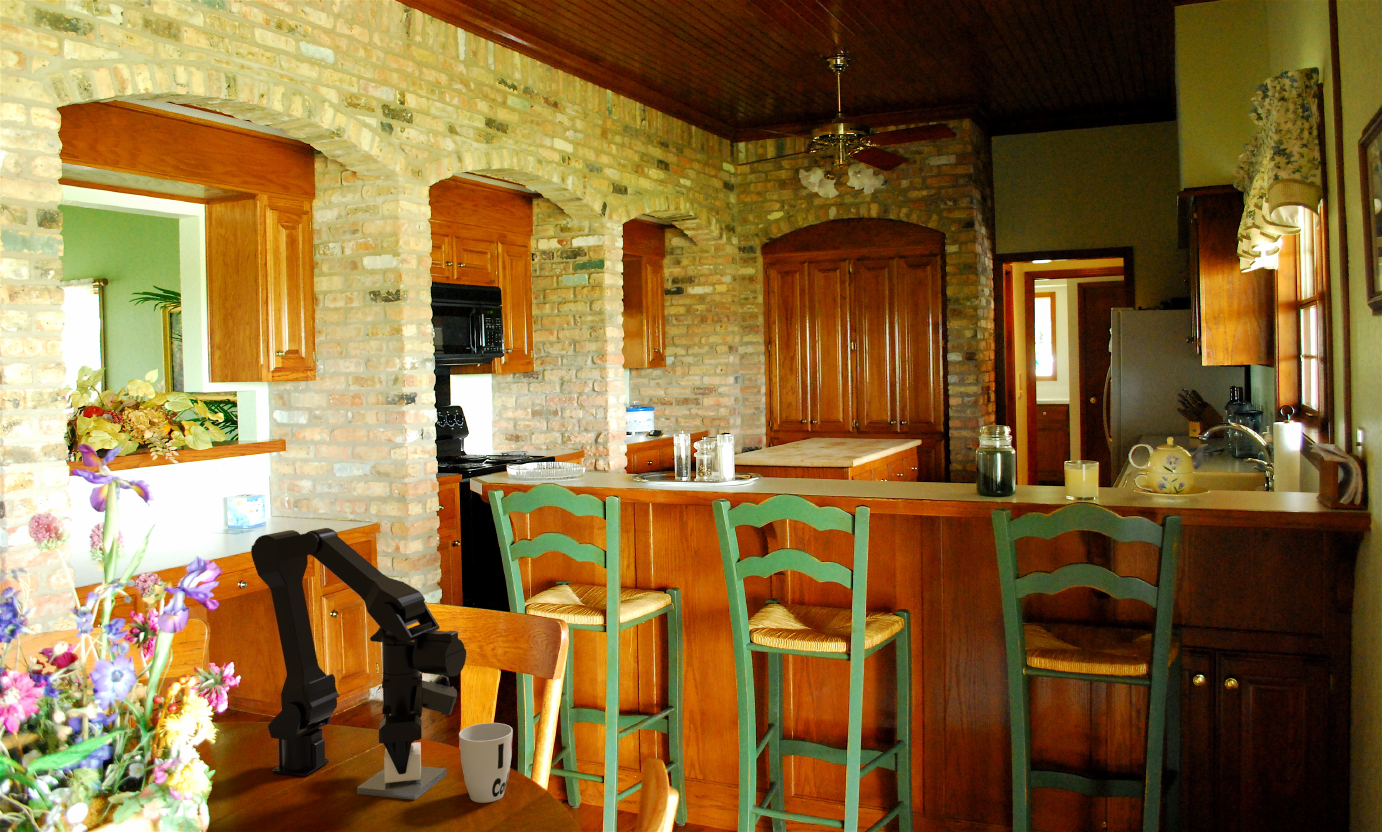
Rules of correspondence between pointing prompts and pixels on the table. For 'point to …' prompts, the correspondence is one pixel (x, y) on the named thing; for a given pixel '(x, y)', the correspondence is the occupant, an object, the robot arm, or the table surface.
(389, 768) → the cap
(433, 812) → the table surface
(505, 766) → the cup
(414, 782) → the post fixture
